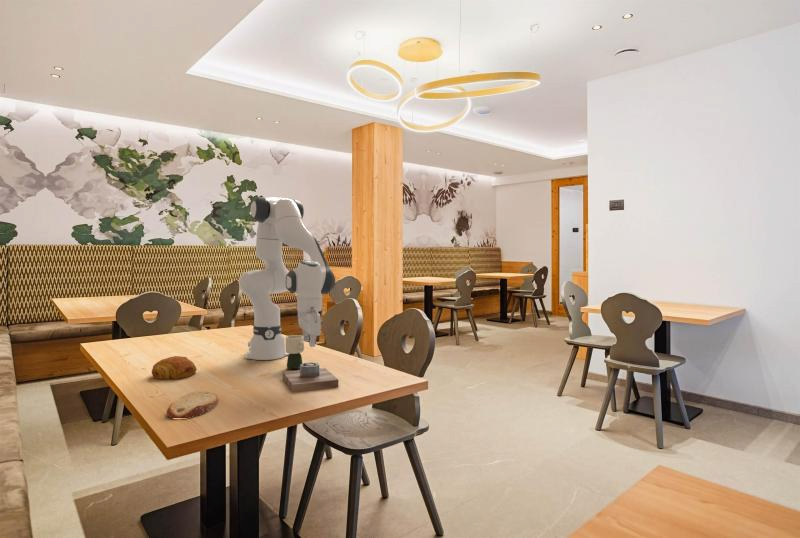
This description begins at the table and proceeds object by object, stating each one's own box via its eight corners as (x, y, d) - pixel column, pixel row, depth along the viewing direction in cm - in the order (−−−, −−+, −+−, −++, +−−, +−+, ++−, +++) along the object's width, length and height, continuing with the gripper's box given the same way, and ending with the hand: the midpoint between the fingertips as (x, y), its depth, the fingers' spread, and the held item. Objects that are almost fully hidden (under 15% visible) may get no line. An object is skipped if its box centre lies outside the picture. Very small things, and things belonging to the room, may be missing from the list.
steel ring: (298, 374, 173) (298, 363, 173) (316, 372, 176) (316, 361, 176) (302, 378, 167) (302, 367, 167) (320, 376, 170) (320, 365, 170)
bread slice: (208, 395, 157) (208, 384, 157) (235, 408, 145) (234, 395, 145) (150, 408, 144) (150, 396, 144) (174, 423, 132) (174, 410, 132)
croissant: (145, 383, 177) (142, 362, 176) (182, 368, 191) (178, 349, 190) (170, 387, 170) (167, 366, 169) (206, 371, 184) (203, 352, 183)
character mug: (310, 369, 191) (310, 336, 190) (296, 372, 185) (296, 339, 184) (293, 364, 197) (293, 333, 197) (279, 368, 192) (278, 336, 191)
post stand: (283, 378, 176) (282, 361, 176) (324, 374, 183) (324, 357, 183) (292, 391, 160) (292, 372, 160) (338, 386, 167) (338, 368, 166)
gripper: (325, 309, 162) (325, 349, 163) (311, 302, 181) (311, 337, 182) (307, 310, 160) (306, 350, 160) (295, 302, 178) (294, 338, 179)
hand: (309, 343), depth 171 cm, fingers open, 8 cm apart
